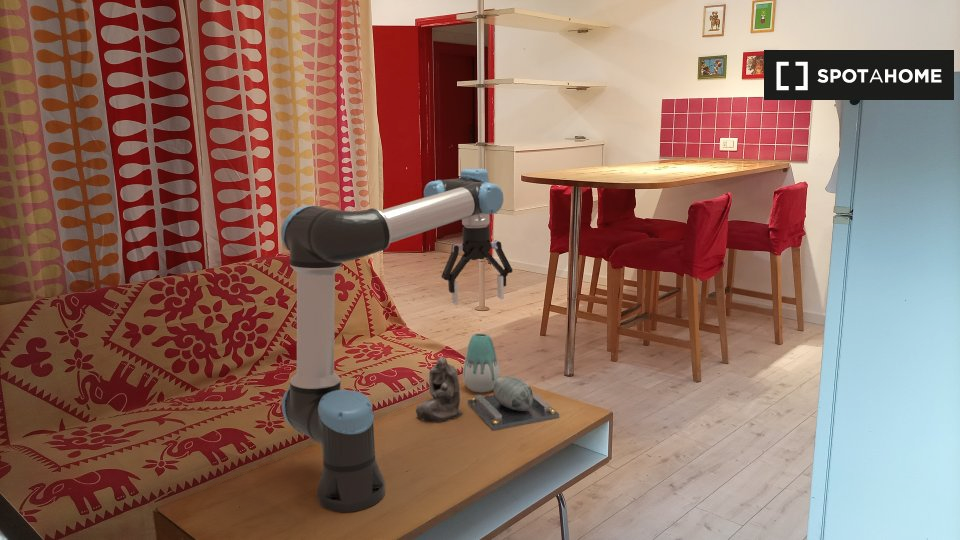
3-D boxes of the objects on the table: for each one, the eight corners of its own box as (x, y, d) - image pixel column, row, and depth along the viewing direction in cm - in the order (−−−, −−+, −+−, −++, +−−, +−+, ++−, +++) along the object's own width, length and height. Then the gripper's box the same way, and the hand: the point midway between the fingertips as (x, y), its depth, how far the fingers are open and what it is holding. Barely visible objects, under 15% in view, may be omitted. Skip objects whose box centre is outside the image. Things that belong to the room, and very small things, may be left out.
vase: (484, 379, 233) (482, 325, 229) (508, 388, 224) (507, 333, 220) (455, 388, 226) (453, 333, 222) (479, 399, 217) (478, 342, 213)
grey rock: (545, 399, 204) (527, 371, 202) (521, 421, 200) (502, 392, 199) (522, 394, 216) (505, 368, 214) (499, 414, 213) (481, 388, 211)
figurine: (416, 424, 201) (413, 363, 197) (415, 407, 212) (413, 349, 208) (463, 421, 202) (461, 360, 198) (460, 405, 213) (458, 347, 209)
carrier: (492, 430, 196) (492, 420, 195) (467, 403, 214) (467, 394, 213) (559, 417, 203) (559, 407, 202) (529, 392, 221) (529, 383, 220)
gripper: (436, 231, 190) (439, 309, 194) (523, 223, 198) (524, 298, 203) (428, 227, 197) (431, 302, 201) (512, 220, 205) (513, 292, 210)
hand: (478, 300), depth 202 cm, fingers open, 13 cm apart
